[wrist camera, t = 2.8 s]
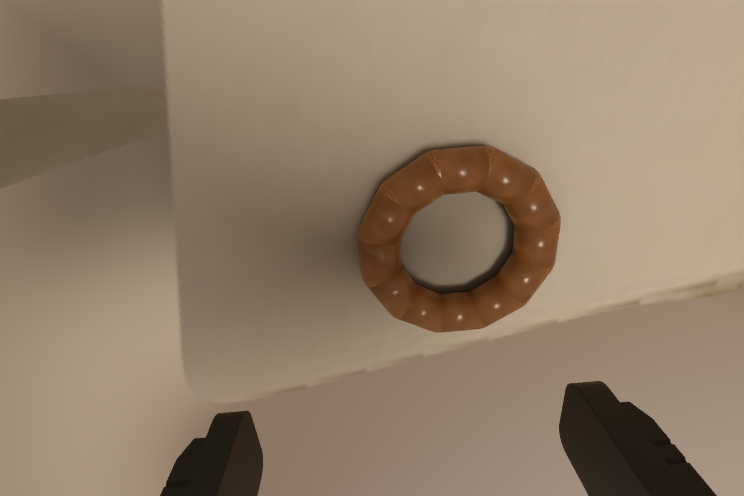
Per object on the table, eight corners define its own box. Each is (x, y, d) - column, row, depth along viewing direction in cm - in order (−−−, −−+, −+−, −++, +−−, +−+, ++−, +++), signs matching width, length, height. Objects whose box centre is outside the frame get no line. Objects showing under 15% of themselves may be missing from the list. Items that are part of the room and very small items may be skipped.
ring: (367, 323, 22) (368, 346, 20) (349, 152, 18) (349, 163, 16) (536, 308, 22) (553, 330, 20) (558, 134, 18) (581, 142, 16)
